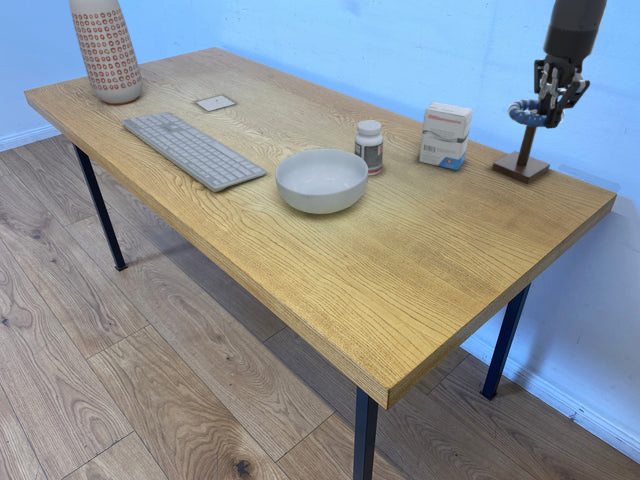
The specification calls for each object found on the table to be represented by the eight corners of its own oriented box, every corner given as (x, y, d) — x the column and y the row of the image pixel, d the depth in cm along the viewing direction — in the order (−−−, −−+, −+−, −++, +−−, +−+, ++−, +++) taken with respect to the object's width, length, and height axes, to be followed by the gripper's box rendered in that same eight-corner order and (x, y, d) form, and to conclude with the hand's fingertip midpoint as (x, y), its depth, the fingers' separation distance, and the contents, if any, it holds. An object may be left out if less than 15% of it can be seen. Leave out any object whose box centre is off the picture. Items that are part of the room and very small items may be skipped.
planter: (156, 94, 135) (129, -16, 118) (122, 111, 126) (88, -6, 108) (120, 88, 140) (90, -19, 122) (85, 104, 130) (47, -10, 113)
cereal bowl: (312, 171, 98) (311, 139, 94) (383, 194, 90) (385, 161, 86) (259, 209, 87) (255, 175, 83) (333, 239, 79) (333, 204, 75)
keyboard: (268, 175, 97) (267, 165, 96) (216, 197, 91) (214, 187, 89) (168, 114, 124) (166, 105, 122) (122, 128, 117) (119, 119, 116)
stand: (548, 170, 96) (566, 112, 89) (527, 184, 92) (544, 124, 85) (513, 156, 101) (527, 100, 94) (491, 169, 97) (505, 111, 90)
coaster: (195, 102, 129) (195, 99, 129) (221, 95, 133) (221, 92, 133) (208, 111, 124) (207, 108, 124) (235, 103, 128) (234, 101, 127)
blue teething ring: (573, 118, 89) (576, 107, 88) (544, 134, 84) (548, 122, 83) (524, 104, 95) (527, 93, 94) (495, 117, 90) (498, 106, 89)
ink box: (464, 161, 100) (474, 107, 93) (457, 171, 97) (467, 116, 90) (426, 152, 104) (433, 100, 96) (418, 161, 100) (424, 108, 93)
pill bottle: (385, 166, 99) (388, 121, 93) (376, 178, 95) (379, 132, 89) (359, 161, 101) (361, 117, 95) (349, 173, 97) (350, 128, 91)
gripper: (624, 32, 71) (587, 138, 81) (571, 12, 82) (544, 108, 92) (578, 35, 70) (546, 142, 81) (530, 14, 81) (508, 111, 92)
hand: (545, 123), depth 86 cm, fingers closed on blue teething ring, 2 cm apart
